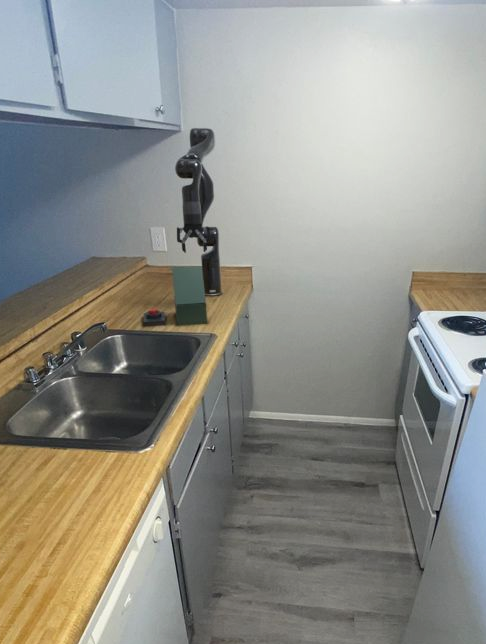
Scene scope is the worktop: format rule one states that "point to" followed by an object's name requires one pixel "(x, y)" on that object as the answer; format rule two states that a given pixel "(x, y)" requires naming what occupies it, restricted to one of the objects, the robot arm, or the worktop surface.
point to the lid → (188, 285)
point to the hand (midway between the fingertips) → (194, 251)
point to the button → (153, 311)
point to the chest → (191, 314)
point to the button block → (154, 319)
